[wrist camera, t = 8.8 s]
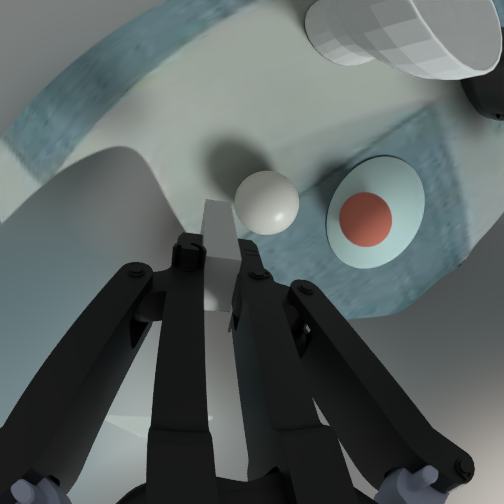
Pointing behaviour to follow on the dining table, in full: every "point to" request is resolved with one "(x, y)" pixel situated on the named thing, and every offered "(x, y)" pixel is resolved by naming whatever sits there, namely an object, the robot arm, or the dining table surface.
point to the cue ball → (266, 202)
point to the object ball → (365, 219)
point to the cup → (409, 35)
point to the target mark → (397, 198)
